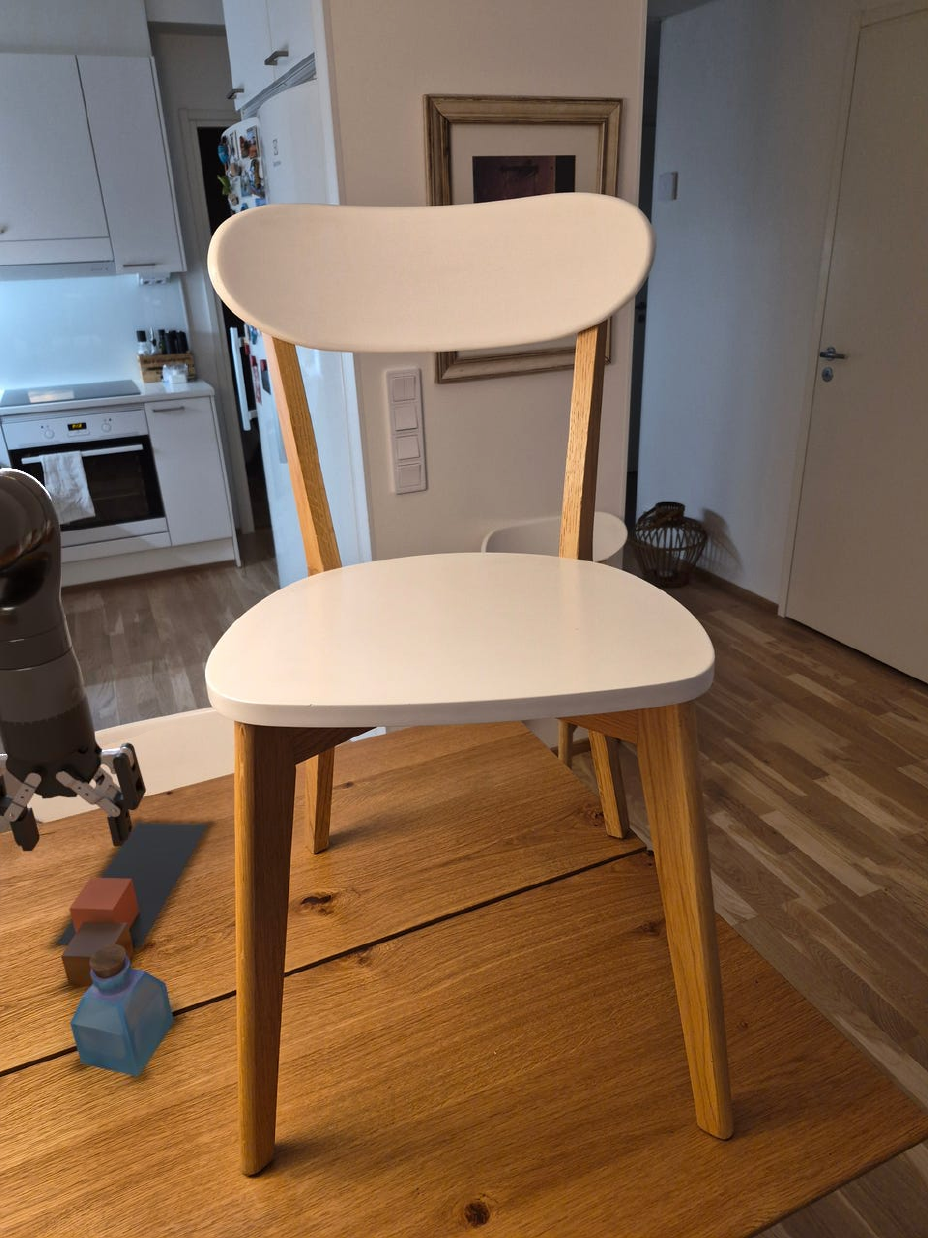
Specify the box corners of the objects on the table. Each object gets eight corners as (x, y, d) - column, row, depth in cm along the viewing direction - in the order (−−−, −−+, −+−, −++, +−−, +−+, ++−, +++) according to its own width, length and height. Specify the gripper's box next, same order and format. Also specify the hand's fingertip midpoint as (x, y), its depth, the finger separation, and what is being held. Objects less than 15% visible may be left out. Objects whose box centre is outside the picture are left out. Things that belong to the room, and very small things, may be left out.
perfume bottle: (83, 1069, 80) (56, 977, 75) (121, 1016, 85) (99, 928, 80) (139, 1082, 78) (116, 989, 74) (175, 1028, 84) (155, 938, 79)
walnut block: (70, 991, 88) (60, 956, 86) (92, 955, 93) (83, 921, 91) (115, 993, 88) (106, 958, 86) (135, 956, 93) (127, 922, 91)
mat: (56, 950, 94) (45, 911, 91) (137, 827, 114) (130, 793, 111) (141, 953, 93) (132, 914, 91) (208, 829, 113) (202, 794, 111)
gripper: (133, 675, 77) (161, 816, 84) (-22, 681, 77) (18, 823, 83) (106, 715, 70) (139, 866, 77) (-65, 722, 70) (-17, 874, 76)
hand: (76, 843), depth 80 cm, fingers open, 8 cm apart
